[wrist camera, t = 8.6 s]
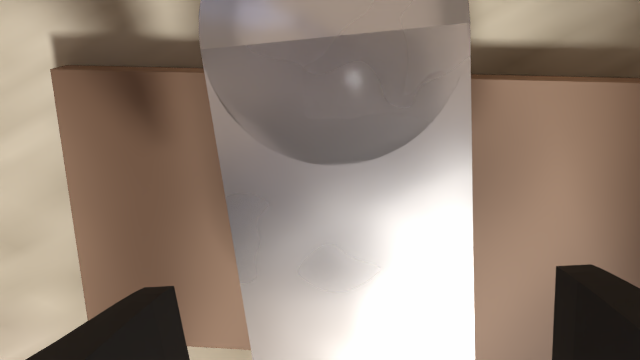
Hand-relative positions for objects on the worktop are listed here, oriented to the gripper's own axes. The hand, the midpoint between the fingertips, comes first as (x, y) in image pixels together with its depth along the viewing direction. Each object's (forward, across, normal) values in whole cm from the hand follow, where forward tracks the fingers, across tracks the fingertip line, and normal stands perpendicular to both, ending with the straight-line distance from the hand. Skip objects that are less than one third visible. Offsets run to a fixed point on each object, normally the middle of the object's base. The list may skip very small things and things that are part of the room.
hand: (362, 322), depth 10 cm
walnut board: (+5, 0, 0) cm, 5 cm away
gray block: (+4, 0, 0) cm, 4 cm away
